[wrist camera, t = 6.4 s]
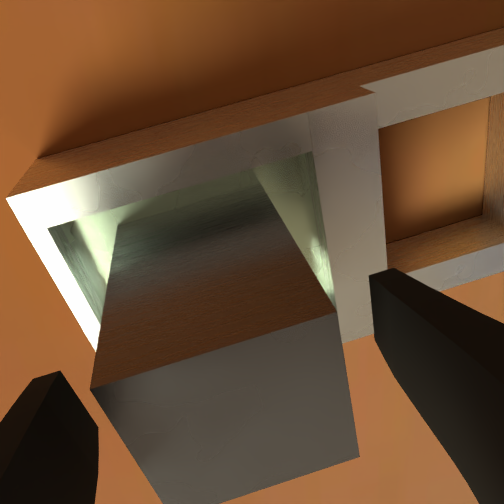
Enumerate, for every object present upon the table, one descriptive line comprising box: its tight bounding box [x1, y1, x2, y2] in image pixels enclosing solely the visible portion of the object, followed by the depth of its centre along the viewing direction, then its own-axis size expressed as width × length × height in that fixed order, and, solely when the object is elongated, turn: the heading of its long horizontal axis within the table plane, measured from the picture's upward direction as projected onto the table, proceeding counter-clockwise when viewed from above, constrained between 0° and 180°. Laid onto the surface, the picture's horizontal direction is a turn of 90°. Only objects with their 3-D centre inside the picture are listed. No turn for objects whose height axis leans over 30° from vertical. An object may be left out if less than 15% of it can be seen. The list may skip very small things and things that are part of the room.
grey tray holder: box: [6, 28, 504, 351], centre depth 14 cm, size 16×8×3 cm, turn 103°
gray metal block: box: [90, 184, 360, 504], centre depth 11 cm, size 4×4×6 cm
